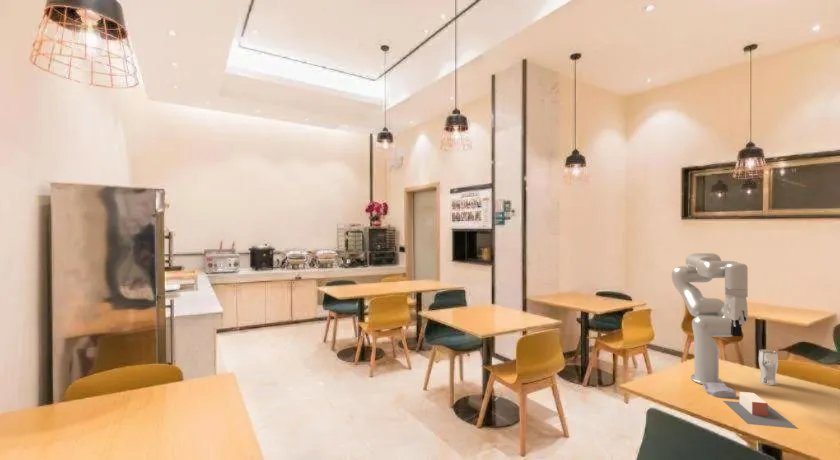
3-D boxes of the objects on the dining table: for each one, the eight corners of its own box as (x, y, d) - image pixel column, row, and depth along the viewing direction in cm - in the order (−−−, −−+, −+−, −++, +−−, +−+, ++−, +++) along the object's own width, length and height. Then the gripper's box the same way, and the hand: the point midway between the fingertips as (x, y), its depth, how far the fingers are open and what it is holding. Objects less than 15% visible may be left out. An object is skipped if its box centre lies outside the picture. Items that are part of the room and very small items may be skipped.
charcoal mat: (722, 402, 170) (722, 400, 170) (767, 406, 166) (767, 404, 166) (747, 425, 151) (747, 423, 151) (798, 430, 147) (798, 428, 147)
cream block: (752, 414, 158) (739, 403, 167) (767, 416, 156) (753, 404, 166) (752, 402, 158) (739, 391, 167) (767, 403, 156) (753, 392, 166)
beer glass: (776, 381, 191) (776, 350, 190) (779, 387, 185) (779, 355, 184) (757, 379, 194) (757, 348, 194) (760, 384, 188) (760, 352, 188)
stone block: (714, 403, 174) (739, 400, 172) (712, 392, 174) (737, 389, 172) (700, 393, 185) (723, 390, 184) (697, 382, 185) (721, 379, 184)
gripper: (717, 289, 176) (717, 330, 177) (734, 295, 162) (734, 340, 162) (737, 289, 174) (737, 331, 175) (756, 296, 160) (756, 341, 160)
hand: (736, 335), depth 168 cm, fingers closed
